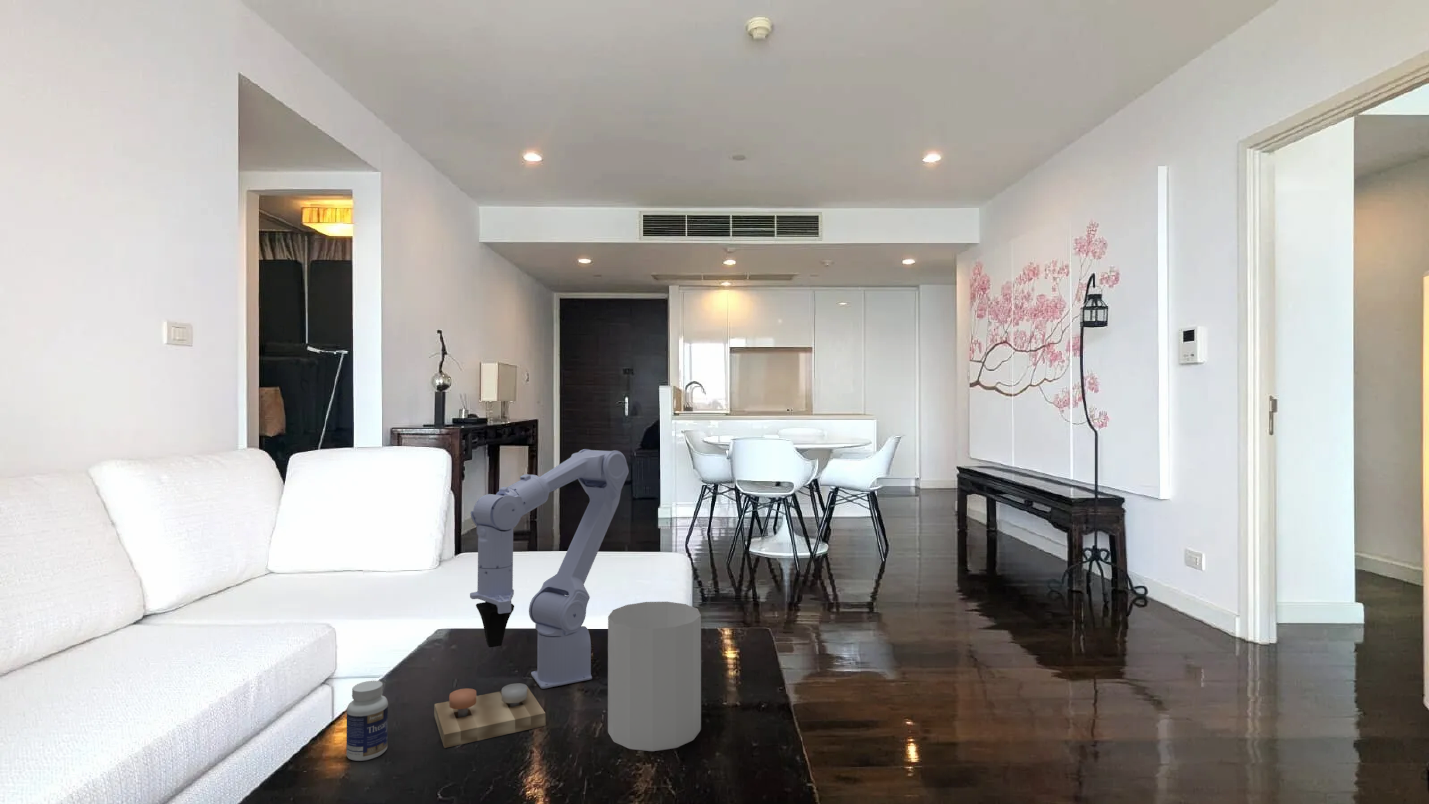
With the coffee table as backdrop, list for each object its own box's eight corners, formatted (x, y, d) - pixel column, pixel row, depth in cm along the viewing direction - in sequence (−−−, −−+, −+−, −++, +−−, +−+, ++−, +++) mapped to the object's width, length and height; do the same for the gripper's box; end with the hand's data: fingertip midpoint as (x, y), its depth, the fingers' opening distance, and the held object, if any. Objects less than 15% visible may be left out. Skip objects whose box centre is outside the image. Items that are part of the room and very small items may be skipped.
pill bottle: (370, 764, 97) (371, 694, 97) (337, 760, 98) (338, 691, 98) (395, 745, 102) (396, 680, 102) (364, 742, 103) (364, 677, 103)
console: (527, 697, 119) (527, 686, 119) (545, 725, 108) (545, 713, 108) (434, 716, 112) (434, 704, 112) (444, 748, 101) (444, 734, 101)
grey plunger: (523, 705, 115) (523, 681, 115) (529, 714, 111) (529, 690, 111) (499, 710, 113) (499, 686, 113) (504, 719, 109) (504, 695, 109)
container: (599, 718, 111) (599, 607, 112) (682, 703, 117) (682, 597, 117) (623, 759, 98) (623, 633, 98) (715, 740, 104) (715, 621, 104)
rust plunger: (473, 710, 111) (474, 686, 111) (478, 720, 107) (478, 695, 107) (447, 716, 109) (447, 691, 109) (451, 726, 105) (451, 700, 105)
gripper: (462, 559, 121) (461, 637, 121) (479, 576, 109) (478, 663, 108) (503, 555, 125) (502, 631, 124) (524, 571, 112) (523, 655, 112)
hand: (494, 645), depth 117 cm, fingers closed
